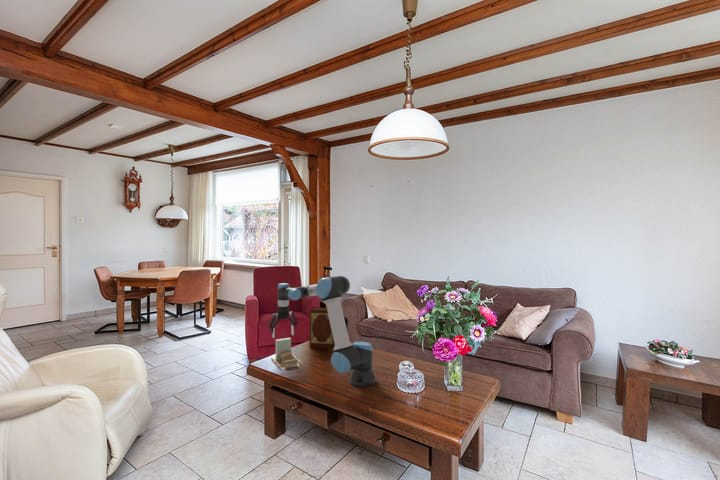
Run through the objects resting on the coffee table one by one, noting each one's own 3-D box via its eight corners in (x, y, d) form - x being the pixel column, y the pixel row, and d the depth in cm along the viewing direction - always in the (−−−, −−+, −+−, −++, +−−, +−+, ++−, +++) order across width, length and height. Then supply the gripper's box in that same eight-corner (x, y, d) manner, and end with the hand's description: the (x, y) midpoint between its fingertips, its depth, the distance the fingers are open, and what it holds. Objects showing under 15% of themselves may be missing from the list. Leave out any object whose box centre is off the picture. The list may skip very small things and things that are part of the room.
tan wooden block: (292, 362, 229) (292, 357, 229) (282, 364, 225) (282, 359, 225) (290, 360, 233) (290, 355, 233) (280, 362, 229) (280, 357, 229)
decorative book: (339, 345, 268) (339, 307, 268) (338, 348, 260) (338, 309, 260) (312, 344, 271) (312, 306, 270) (309, 347, 263) (309, 309, 262)
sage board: (291, 358, 235) (291, 338, 235) (276, 361, 230) (276, 341, 230) (289, 357, 238) (289, 337, 238) (275, 359, 233) (275, 339, 233)
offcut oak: (292, 357, 229) (292, 352, 229) (282, 359, 225) (282, 354, 225) (289, 355, 233) (289, 350, 233) (280, 357, 229) (280, 352, 229)
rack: (271, 361, 234) (271, 351, 233) (291, 357, 241) (291, 347, 241) (280, 371, 216) (280, 360, 216) (302, 366, 224) (302, 356, 224)
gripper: (298, 303, 244) (298, 332, 244) (263, 306, 231) (263, 337, 231) (302, 304, 237) (302, 334, 237) (266, 308, 224) (266, 340, 225)
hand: (283, 336), depth 234 cm, fingers open, 13 cm apart
